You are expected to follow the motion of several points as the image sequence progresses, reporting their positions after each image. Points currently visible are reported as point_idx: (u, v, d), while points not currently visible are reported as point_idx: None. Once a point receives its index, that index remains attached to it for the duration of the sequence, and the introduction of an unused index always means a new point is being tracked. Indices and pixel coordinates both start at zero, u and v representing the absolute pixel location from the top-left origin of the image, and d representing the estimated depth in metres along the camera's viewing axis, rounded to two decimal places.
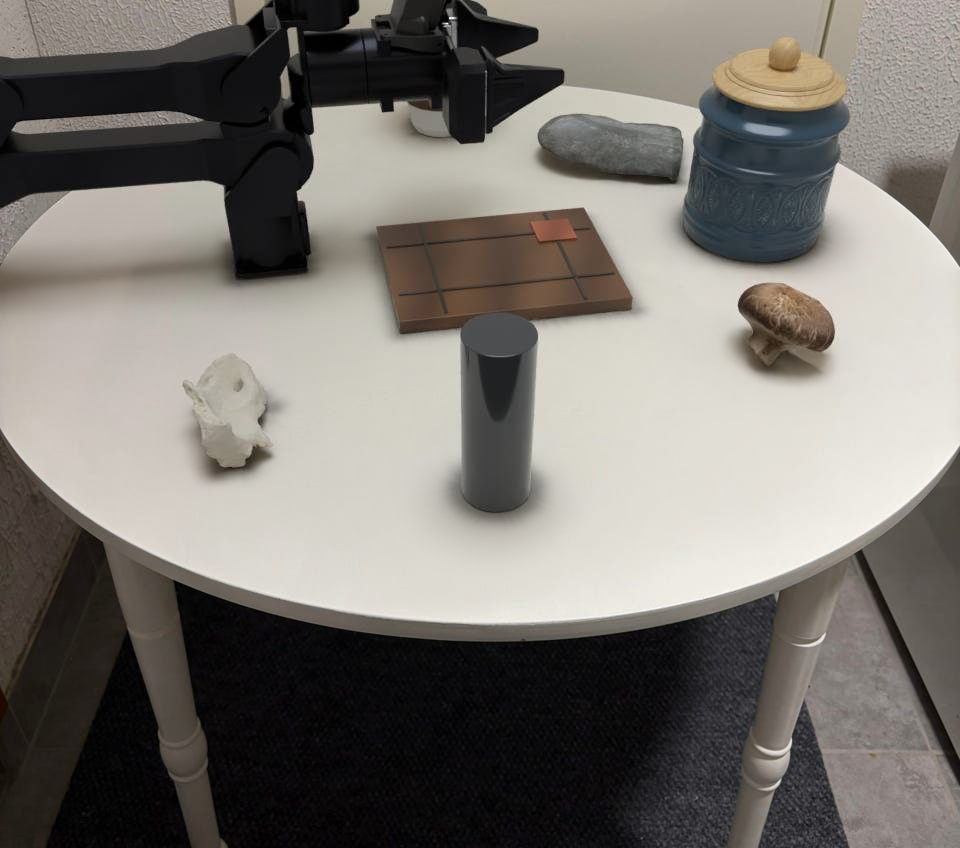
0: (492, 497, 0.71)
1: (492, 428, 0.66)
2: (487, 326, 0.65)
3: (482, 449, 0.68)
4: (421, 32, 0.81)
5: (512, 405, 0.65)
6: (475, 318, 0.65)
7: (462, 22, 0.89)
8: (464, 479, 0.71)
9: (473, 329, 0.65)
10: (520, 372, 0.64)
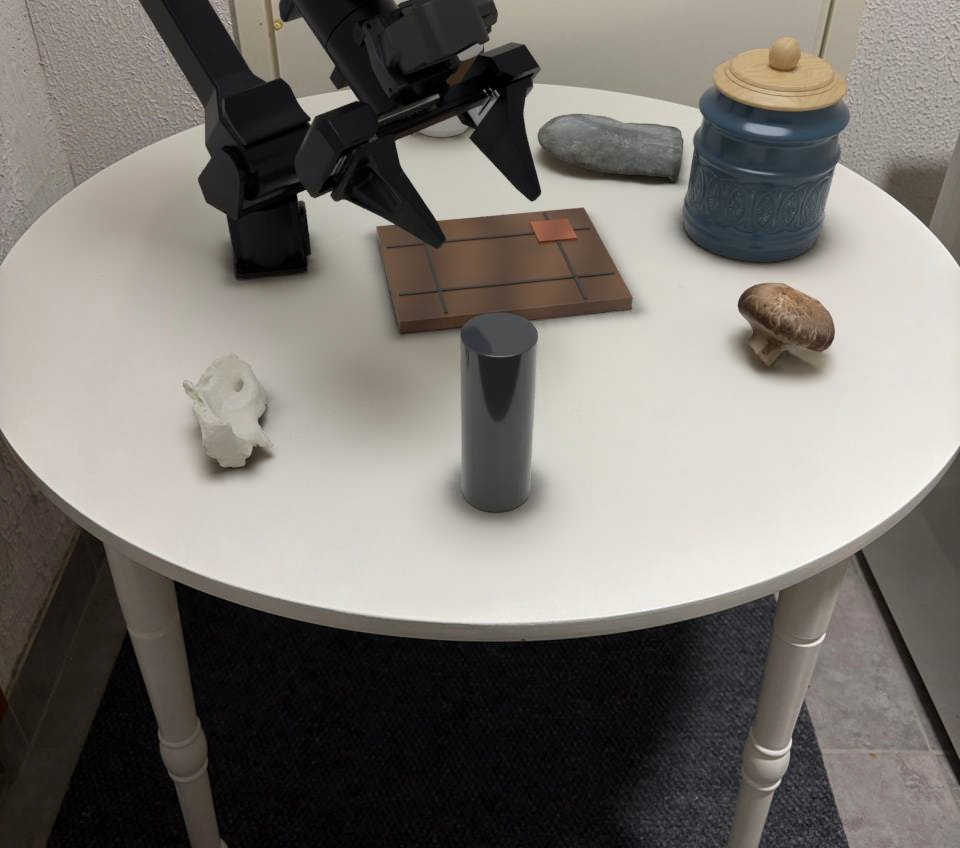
0: (492, 497, 0.71)
1: (492, 428, 0.66)
2: (487, 326, 0.65)
3: (482, 449, 0.68)
4: (385, 62, 0.67)
5: (512, 405, 0.65)
6: (475, 318, 0.65)
7: (497, 107, 0.72)
8: (464, 479, 0.71)
9: (473, 329, 0.65)
10: (520, 372, 0.64)
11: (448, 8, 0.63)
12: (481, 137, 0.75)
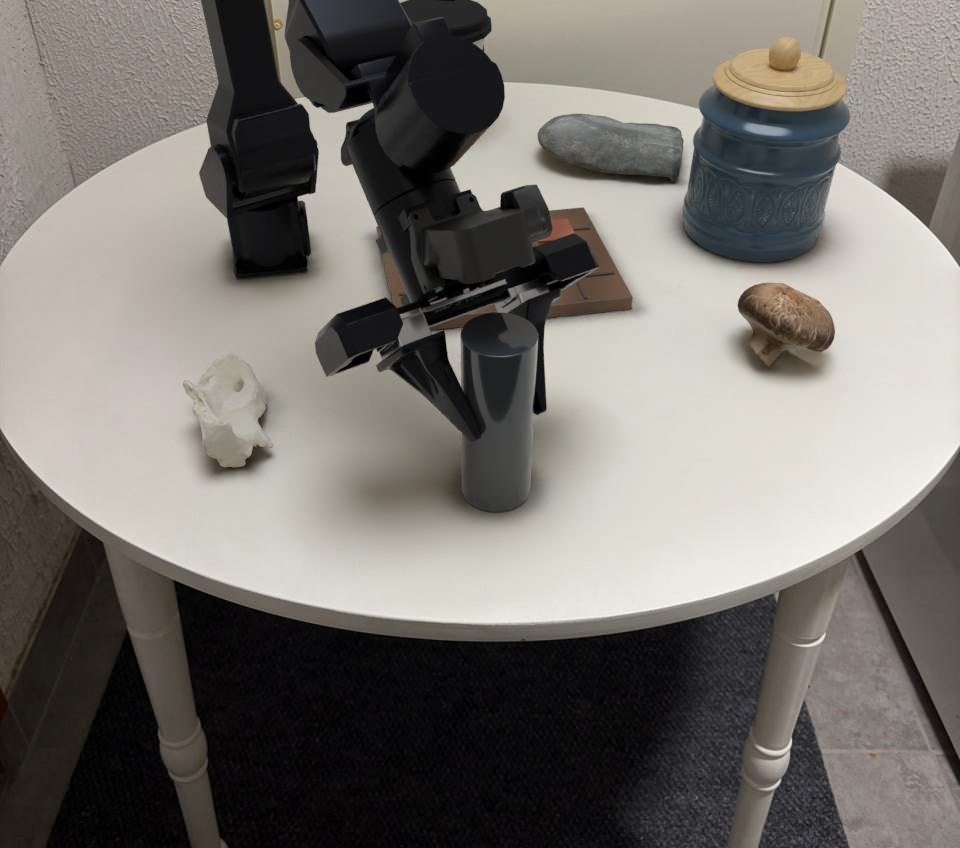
0: (492, 497, 0.71)
1: (492, 428, 0.66)
2: (487, 326, 0.65)
3: (482, 449, 0.68)
4: (424, 261, 0.63)
5: (512, 405, 0.65)
6: (475, 318, 0.65)
7: (517, 313, 0.68)
8: (464, 479, 0.71)
9: (474, 329, 0.65)
10: (520, 372, 0.64)
11: (492, 232, 0.59)
12: None
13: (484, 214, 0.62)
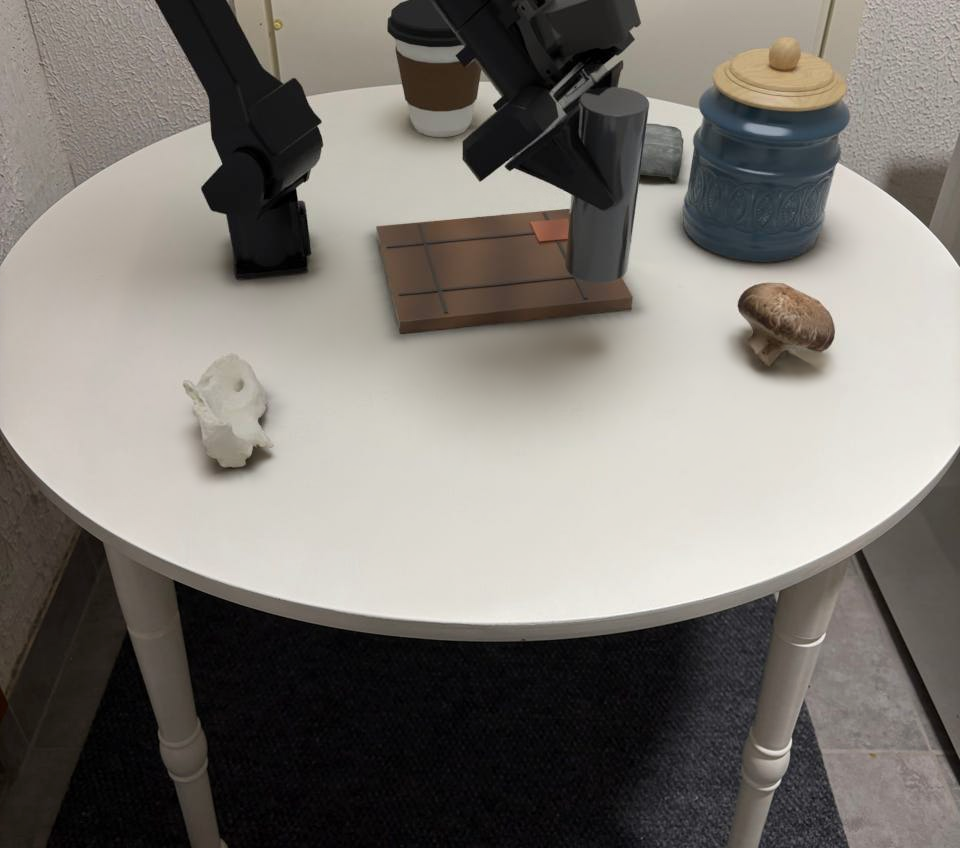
0: (613, 266, 0.78)
1: (621, 191, 0.74)
2: (599, 98, 0.72)
3: (610, 217, 0.75)
4: (546, 45, 0.68)
5: (637, 163, 0.73)
6: (582, 96, 0.72)
7: None
8: (582, 260, 0.78)
9: (591, 102, 0.71)
10: (644, 128, 0.72)
11: None
12: None
13: None
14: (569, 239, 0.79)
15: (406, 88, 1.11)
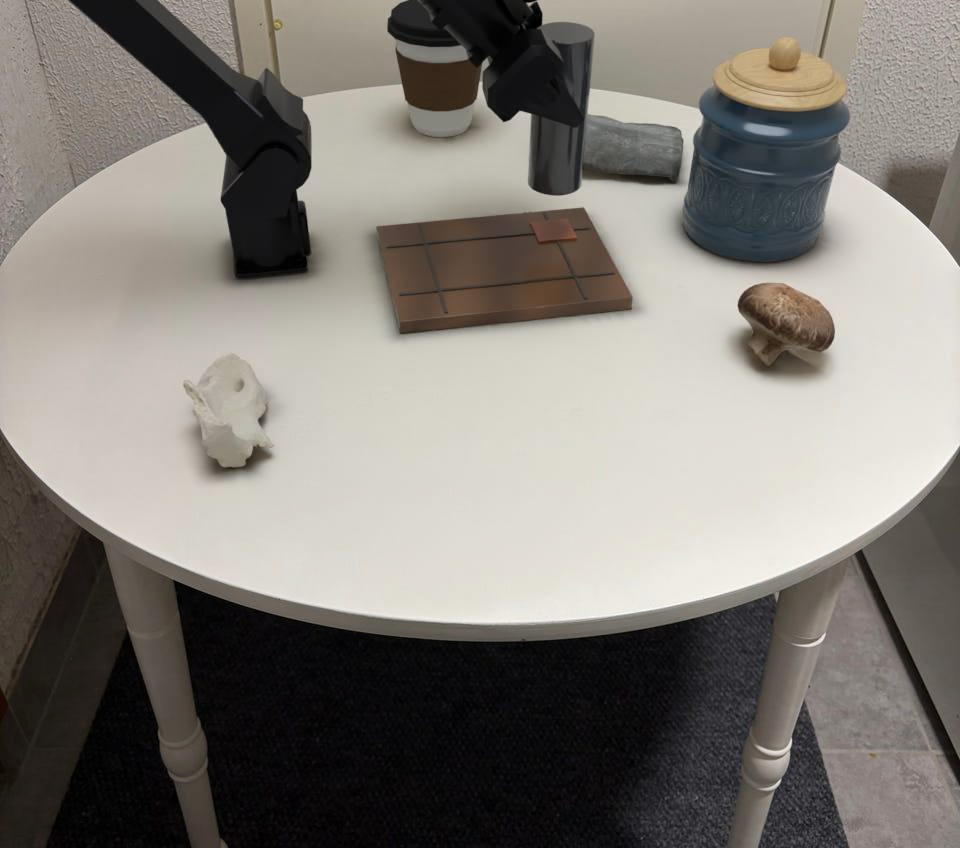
0: (579, 175, 0.92)
1: (584, 107, 0.87)
2: (552, 33, 0.84)
3: (577, 132, 0.88)
4: None
5: (590, 80, 0.87)
6: None
7: None
8: (555, 176, 0.90)
9: (551, 37, 0.83)
10: None
11: None
12: None
13: None
14: (538, 163, 0.90)
15: (406, 88, 1.11)
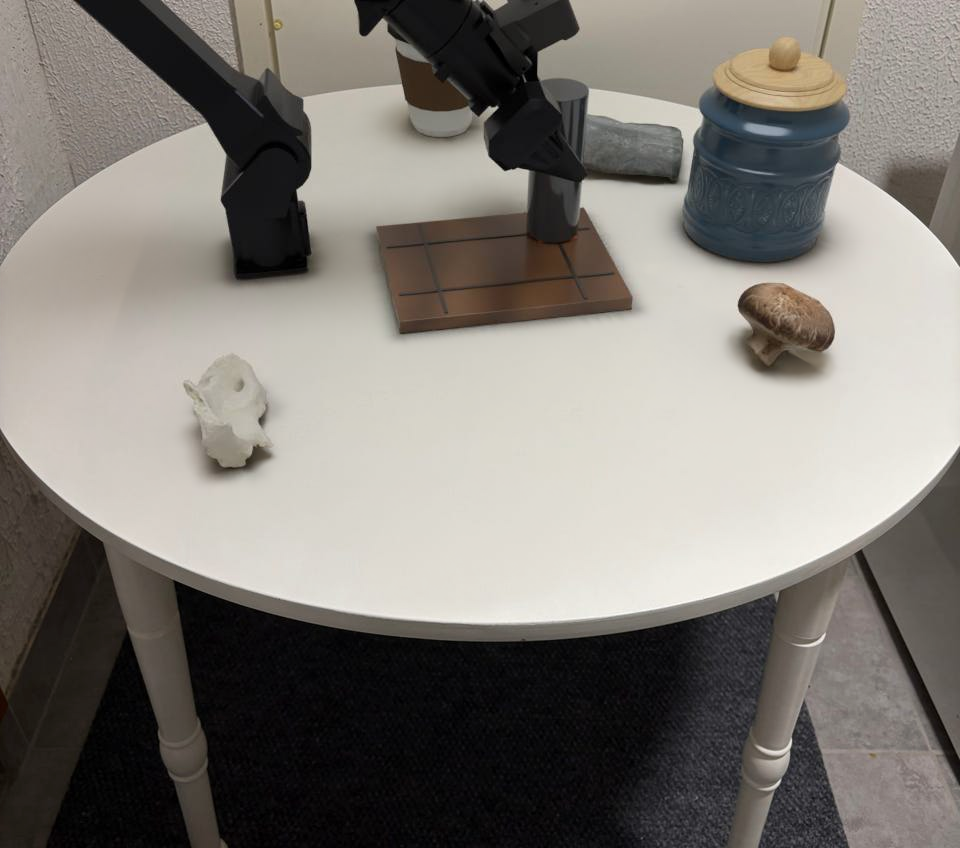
0: (575, 223, 0.95)
1: (579, 159, 0.90)
2: (548, 90, 0.87)
3: (573, 183, 0.91)
4: (520, 47, 0.82)
5: (585, 134, 0.90)
6: None
7: None
8: (553, 225, 0.94)
9: None
10: None
11: None
12: None
13: None
14: (536, 212, 0.93)
15: (406, 88, 1.11)
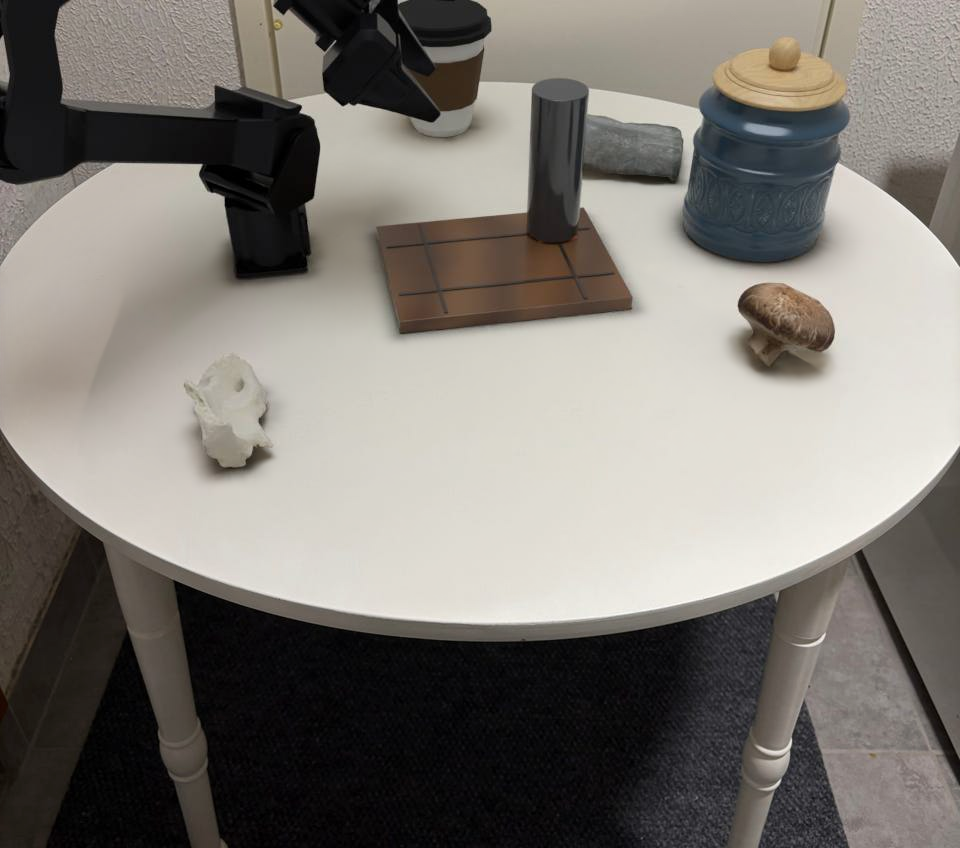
0: (575, 223, 0.95)
1: (579, 159, 0.90)
2: (548, 90, 0.87)
3: (573, 183, 0.91)
4: None
5: (585, 134, 0.90)
6: (534, 91, 0.87)
7: (385, 6, 0.88)
8: (553, 225, 0.94)
9: (547, 94, 0.87)
10: None
11: None
12: None
13: None
14: (536, 212, 0.93)
15: None
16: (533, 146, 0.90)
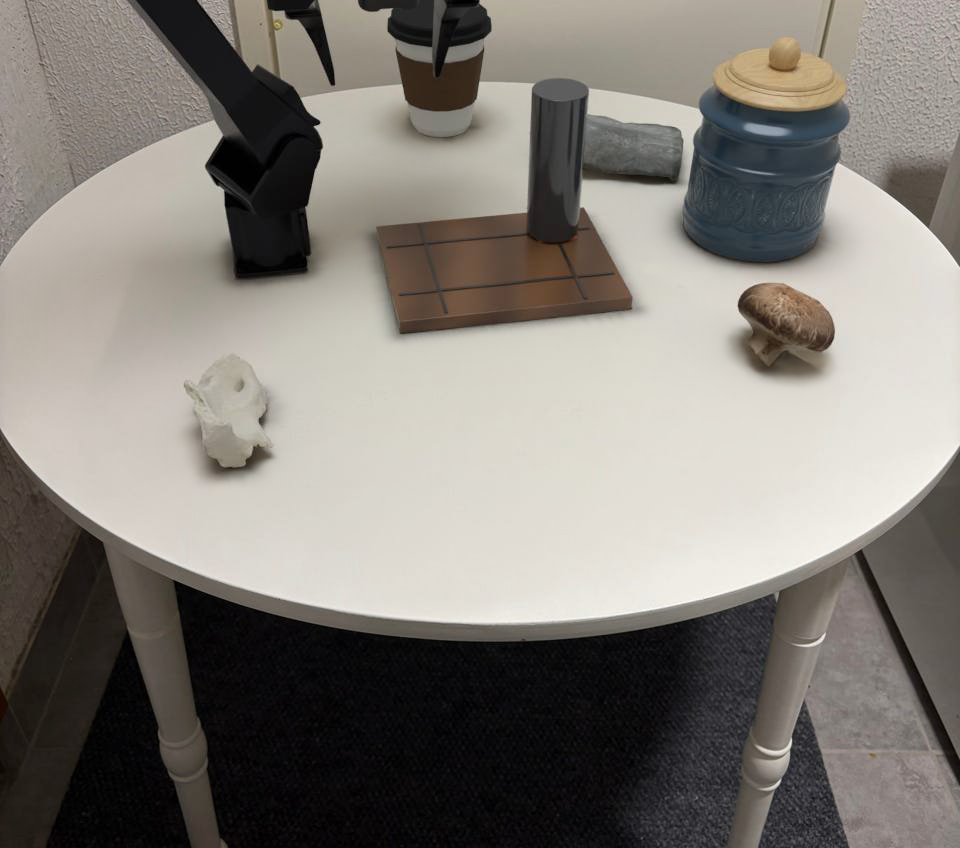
0: (575, 223, 0.95)
1: (579, 159, 0.90)
2: (548, 90, 0.87)
3: (573, 183, 0.91)
4: None
5: (585, 134, 0.90)
6: (534, 91, 0.87)
7: (442, 2, 0.87)
8: (553, 225, 0.94)
9: (547, 94, 0.87)
10: None
11: None
12: None
13: None
14: (536, 212, 0.93)
15: (406, 88, 1.11)
16: (533, 146, 0.90)
